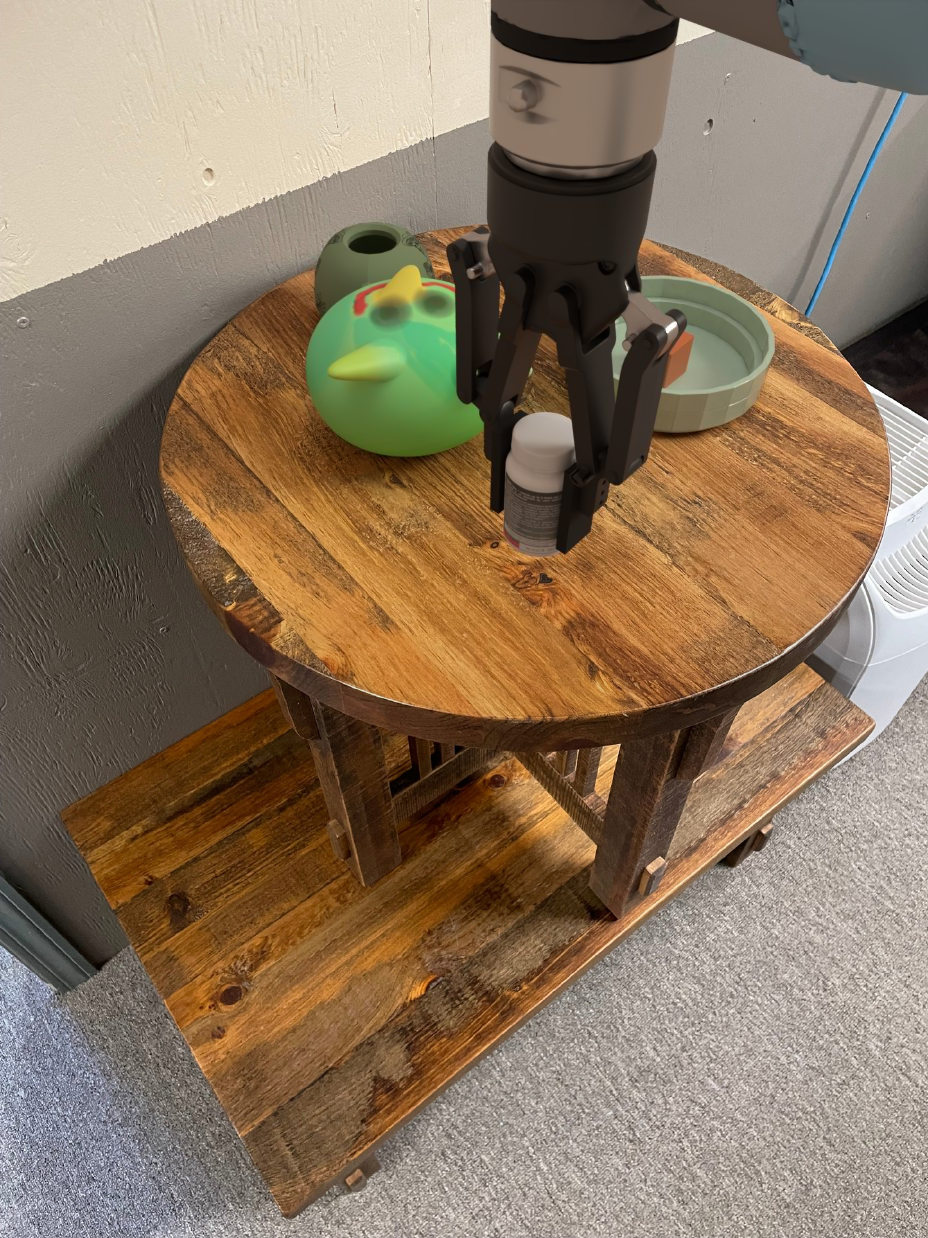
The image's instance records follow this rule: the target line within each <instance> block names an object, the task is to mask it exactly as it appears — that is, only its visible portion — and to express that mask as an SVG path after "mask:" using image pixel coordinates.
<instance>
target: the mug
mask: <svg viewBox="0 0 928 1238" xmlns="http://www.w3.org/2000/svg"><path fill="white" fill-rule="evenodd" d="M316 263H317V264H316V268H315V270H314V281H313V282H314V285H313V293H314V303H315V304H314V305H315V307H316V309H317V312H318V315H319V318H320V320H321V319H322V317H323V316H324V315H325V314H326V312H327V311H328V310H329V309H330V308H331V307H332V306H333V305H335V304H336V303H337V302H338V301H340V300H341V299H342V298H344V297H345V296H347V295H349V294H350V293H352V292H354V291H356V290H358V289H360V288H363V287H365V286H368V285H370V284H373V283H377V282H380V281H384V280H389V279H392V278H393V277H394V276H395V275H396V274H397V273H398V272H399V271H400V270H401V269H402V268H404V267H405V266H408V265H414V266H416V267H417V268H418V270H419V272H420V276H421V278H430V279H436V275H435V270H434V267H433V263H432V260H431V258H430V256H429V254H428V251H427V250H426V248H425V246H424V245H423V244H422V242H421V241H420V240H419V239H418V238H417V237H416V236H415V235H413V234H412V233H411V232H410V231H408V230H407V229H406V228H404V227H401V226H398V225H396V224H393V223H389V222H381V221H380V222H379V221H371V222H370V221H369V222H359V223H356V224H352V225H349V226H346V227H343V228H342V229H341V230H339V231H337V232H336V233H334V234H333V235H332V236H331V237H330V239H328V241H327V242H326V244H325V245H324V247H323V248H322V250H321V252H320V255H319V257H318V260H317V262H316Z"/></svg>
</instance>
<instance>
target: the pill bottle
mask: <svg viewBox="0 0 928 1238" xmlns="http://www.w3.org/2000/svg"><path fill="white" fill-rule="evenodd" d="M529 414H530V415H527V416H525V417H523V418H522V419H520V420H519V421H518V422H517V423H516V425H515V426H514V429H513V434H512V443H511V450H510V452H509V454H508V456H507V459H506V472H505V500H504V510H503V520H502V521H503V522H502V533H503V536H504V540H505V541H506V542H507V544H508V545H509V546H510V547H511V548H512V549H513V550H514V551H516V552H518V553H520V554H522V555H525V556H530V557H535V558H548V557H553V556H556V555H559V554H562V553H561V552H560V551H558V550H556V542H557V533H558V524H559V515H560V506H561V497H562V488H563V479H564V471H565V470H566V469H568V468H569V467H570V466H571V465H572V464H574V463H575V462H576V455H575V447H574V438H573V429H572V421H571V419H570V418H569V417H567V416H565V415H562V414H559V413H556V412H549V411H539V412H534V413H529Z"/></svg>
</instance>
